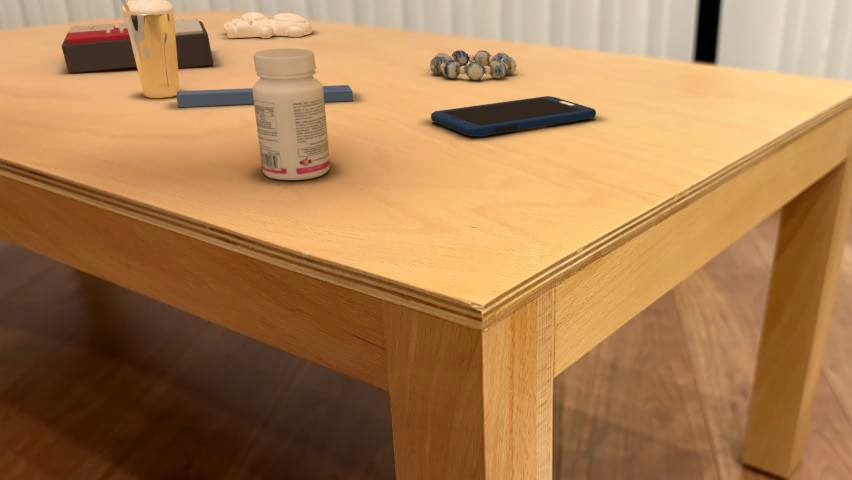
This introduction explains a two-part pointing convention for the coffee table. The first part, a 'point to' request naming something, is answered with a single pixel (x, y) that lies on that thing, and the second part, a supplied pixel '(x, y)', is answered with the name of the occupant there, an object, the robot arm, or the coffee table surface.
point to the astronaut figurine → (267, 26)
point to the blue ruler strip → (248, 96)
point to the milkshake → (153, 45)
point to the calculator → (130, 46)
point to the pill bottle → (290, 115)
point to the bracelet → (472, 65)
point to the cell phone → (512, 115)
